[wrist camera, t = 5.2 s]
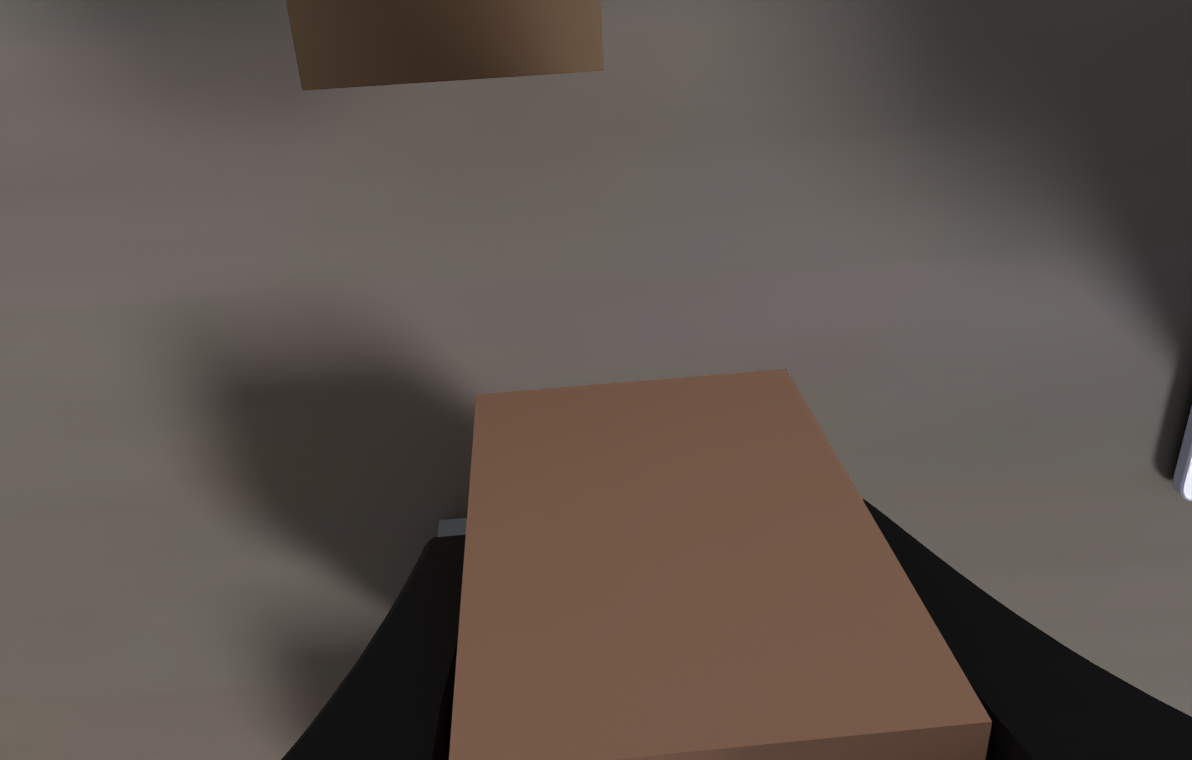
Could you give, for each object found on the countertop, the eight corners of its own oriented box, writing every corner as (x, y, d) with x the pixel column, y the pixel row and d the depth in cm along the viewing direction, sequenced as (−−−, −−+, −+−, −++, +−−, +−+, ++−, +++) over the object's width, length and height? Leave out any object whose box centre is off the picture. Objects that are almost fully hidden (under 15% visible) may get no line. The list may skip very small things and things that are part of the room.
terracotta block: (786, 369, 12) (992, 721, 7) (776, 612, 14) (935, 1040, 9) (476, 394, 12) (447, 775, 7) (506, 637, 14) (501, 1090, 9)
